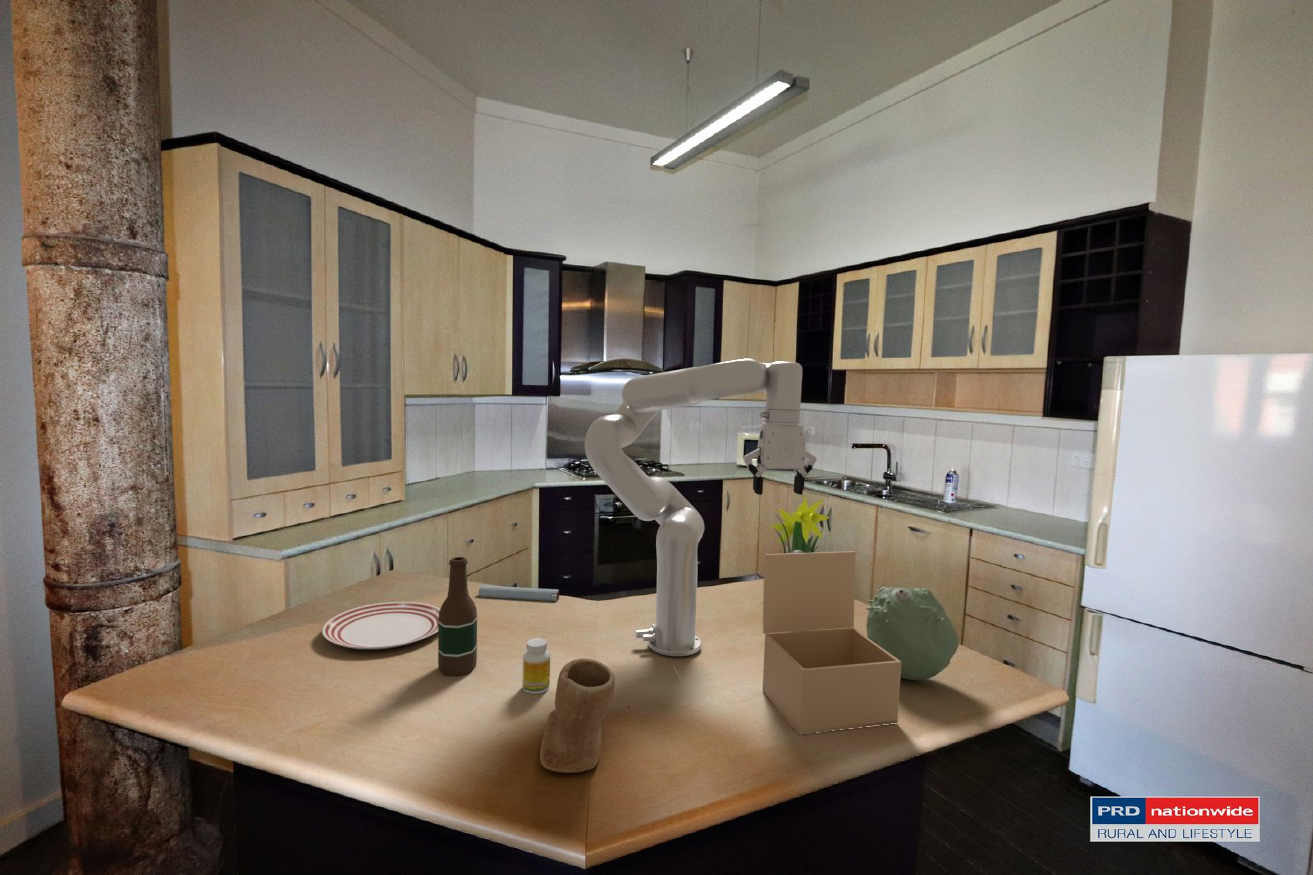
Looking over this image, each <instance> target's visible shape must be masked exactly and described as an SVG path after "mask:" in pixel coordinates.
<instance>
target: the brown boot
mask: <svg viewBox="0 0 1313 875" xmlns="http://www.w3.org/2000/svg"><path fill="white" fill-rule="evenodd" d="M615 683H616V678H615V675H614V672H613V671H612V670H611V669H610V667H608V666H607V665H606V664H604V663H603V662H600V661H597V660H595V659H590V658H577V659H574V660H571V661H569V662H567V663H565V664H564V666H563V667H562V669H561V670H560V672H559V674H558V678H557V682H556V691H555V699H554V706H555V707H554V708H555V709H554V710H552V711H550V713H549V714H548V717H547V720H546V723H545V728H544V732H543V737H542V741H541V744H540V745H541V746H540V752H539V759H540V763H541V765H542V767H543V768H545V769H546V770H549V771H552V772H555V773H556V772H557V773H563V774H574V773H581V772H585V771H590V770H592V769H594V768H595V767H596V765H597V763H598V762H599V760H600V756H601V752H602V744H603V743H602V740H603V739H602V725H603V722H604V720H605V718H606V716H607V714H608V712H609V709H610V708H611V705H612V702H613V699H614V692H615V686H616V685H615Z"/></svg>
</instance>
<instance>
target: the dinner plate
mask: <svg viewBox="0 0 1313 875" xmlns="http://www.w3.org/2000/svg"><path fill="white" fill-rule="evenodd" d="M440 609H441V607H437V606H435V605H432V604H427V603H425V602H424V603H423V602H414V601H390V602H379V603H372V604H367V605H362V606H357V607H354V608H351V609H349V610H345V611H344V612H342V613H339V614H337V615H335V616H334V617H331V618H330V619H328V620H327V622H326V623H325V624H323V627H322V629H321V635H322V636H323V637H324V638H325V639H326V640H327V641H329V642H330V643H332V644H335V645H337V646H341V647H344V648H348V649H355V650H383V649H391V648H397V647H401V646H406V645H410V644H412V643H416V642H419V641H422V640H425V639H427V638H429V637H431V636H433V635H434V634H437V633H438V619H439V611H440Z"/></svg>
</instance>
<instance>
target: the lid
mask: <svg viewBox="0 0 1313 875" xmlns="http://www.w3.org/2000/svg"><path fill="white" fill-rule="evenodd" d="M791 551H792V550H791ZM855 580H856V551H855V550H851V551H821V552H819V551H818V552H816V551H815V552H814V553H810V552H809V553H804V552H803V551H801V550H794V551H792V552H791V553H788V552H787V553H786V554H784V553H768V554H767V553H765V554H764V555H763V596H762V597H763V601H762V633H763V634H764V635H765V634H771V633H785V632H799V631H814V630H828V629H843V628H855V624H854V623H855V587H856V585H855V583H856V582H855Z"/></svg>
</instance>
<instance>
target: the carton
mask: <svg viewBox="0 0 1313 875" xmlns="http://www.w3.org/2000/svg"><path fill="white" fill-rule="evenodd" d="M763 650H764V651H763V670H762V671H763V672H762V674H763V675H762V690H763V691H764V692H765V693H764V692H763V691H762V692H763V693H764V695H765V694H766V695H767V696H768V697H769V698H768V697H767V696H766V695H765V696H766V697H767V698H768V700H769V699H770V700H771V701H772V702H771V701H770V700H769V701H770V702H771V703H772V704H773V706H774V705H775V706H774V707H775V708H776V709H777V710H778V712H779V714H781V716H783V717H784V719H785V720H786V721H787V723H788V724H789V723H790V724H789V725H790V726H791V727H792V729H793V728H794V729H795V730H794V729H793V730H794V731H795V733H796V734H797V733H798V734H799V735H800V736H803V735H802V734H808V735H811V734H810V733H816V732H826V731H832V730H840V729H849V728H859V727H866V726H873V725H883V724H891V723H897V724H898V721H899V720H898V719H899V704H900V691H901V678H902V677H901V663H902V662H901V661H900V660H898V659H897V658H895V657H894V656H893V655H891V654H890V653H888V652H887V651H885V650H884V649H883V648H881V647H880V646H878V645H877V644H876V643H874V642H873V641H871V640H870V639H869V638H867V635H864V634H863V633H862V632H860V631H859V630H857V629H856V628H855V627H852V628H838V629H823V630H809V631H794V632H780V633H765V634H764V649H763ZM826 733H827V732H826ZM798 734H797V735H798ZM799 735H798V736H799Z"/></svg>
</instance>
